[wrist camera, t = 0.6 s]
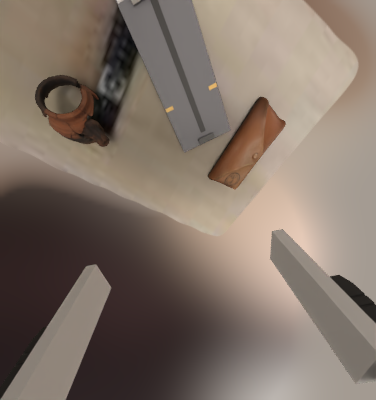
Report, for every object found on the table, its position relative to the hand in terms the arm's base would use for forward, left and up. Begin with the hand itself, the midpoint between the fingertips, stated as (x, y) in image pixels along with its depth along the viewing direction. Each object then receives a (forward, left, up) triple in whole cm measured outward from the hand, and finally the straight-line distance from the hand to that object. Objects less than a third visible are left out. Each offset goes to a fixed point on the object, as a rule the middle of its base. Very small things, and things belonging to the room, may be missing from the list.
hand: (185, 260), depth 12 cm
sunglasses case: (+2, +15, -27) cm, 30 cm away
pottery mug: (-17, -12, -26) cm, 33 cm away
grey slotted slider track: (-17, +7, -26) cm, 32 cm away
